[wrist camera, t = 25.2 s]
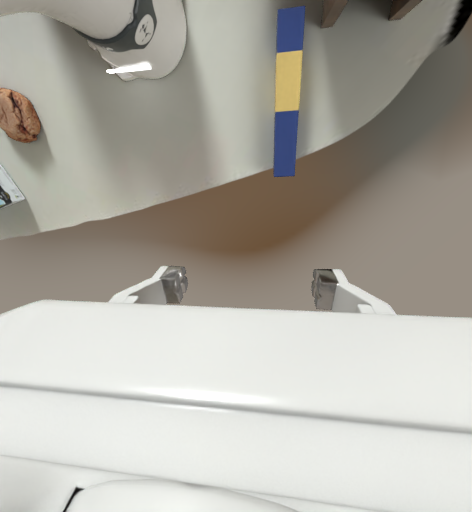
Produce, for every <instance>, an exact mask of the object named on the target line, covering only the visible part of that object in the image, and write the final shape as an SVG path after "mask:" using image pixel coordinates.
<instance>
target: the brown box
mask: <svg viewBox="0 0 472 512" xmlns="http://www.w3.org/2000/svg"><path fill="white" fill-rule="evenodd" d="M421 1H422V0H392V5H391V10H390V15H389V21H390V20H399V19H401V18H403V17H404V16H405V15H406V14H407V13H408V12H410V11H411V10H412V9H413V8H414V7H415V6H416V5H418V4H419V3H420V2H421ZM347 2H348V0H324V1H323V11H322V22H321V28H329V27H333V25H334V23H335V22H336V20H337V18H338V17H339V15H340V14H341V12H342V10H343V9H344V7H345V5H346V4H347Z"/></svg>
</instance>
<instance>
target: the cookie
mask: <svg viewBox="0 0 472 512" xmlns="http://www.w3.org/2000/svg"><path fill="white" fill-rule="evenodd" d="M40 127H41V125H40V122H39V118H38V116H37V113H36V111H35V110H34V108H33V105H32V104H31V102H30V101H29V100H28V99H27V98H26V97H24V96H23V95H21V94H20V93H18V92H14V91H12V90H8V89H5V88H0V128H2V129H3V130H4V131H6V133H7V135H8V136H9V137H10V138H12V139H14V140H16V141H20V142H24V143H30V142H32V141H35V140H37V135H38V134H39V132H40V129H41V128H40Z"/></svg>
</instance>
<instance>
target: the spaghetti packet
mask: <svg viewBox="0 0 472 512" xmlns="http://www.w3.org/2000/svg"><path fill="white" fill-rule="evenodd" d="M304 19H305V6H300V7H292V8H285V9H278V14H277V40H276V77H275V131H274V177H283V176H294V175H295V159H296V144H297V128H298V113H299V100H300V85H301V69H302V54H303V35H304Z"/></svg>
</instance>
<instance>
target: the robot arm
mask: <svg viewBox="0 0 472 512" xmlns="http://www.w3.org/2000/svg"><path fill="white" fill-rule="evenodd" d="M25 12H31V13H41V14H44V15H47V16H49V17H51V18H54V19H56V20H58V21H61V22H63V23H65V24H67V25H69V26H71V27H73V29H74V30H75V31H76V32H78V33H79V34H80V35H81V36H83V37H84V38H86V40H88V41H87V43H88V44H89V45H90V47H91V48H93V49H94V50H96V49H97V50H98V51H99V52H100V53H101V57H102V58H103V59H104V60H105V61H107V62H108V63H109V64H110V66H111V67H112V68H113V69H111V70H106V71H107V72H108V73H110V74H111V73H116V74H117V75H118V76H119V77H120V78H121V79H122V80H124V81H131V80H133V79H136V78H146V79H158V78H162V77H164V76H166V75H168V74H169V73H170V72H172V71H173V70H174V68H175V67H176V66H177V64H178V63H179V61H180V59H181V57H182V54H183V52H184V48H185V43H186V18H185V13H184V9H183V5H182V1H181V0H0V17H1V16H5V15H10V14H15V13H25ZM185 274H186V270H185V267H180V266H161V267H160V268H159V269H158V271H157V272H156V273H155V274H154V275H153V277H152V278H151V279H147V280H145V281H143V282H141V283H139V284H136V285H134V286H132V287H130V288H128V289H126V290H124V291H121V292H119V293H117V294H115V295H114V296H113V297H112V298H111V299H110V301H109V302H107V303H106V302H85V301H62V300H40V301H37V302H34V303H30V304H27V305H24V306H22V307H19V308H16V309H13V310H10V311H8V312H5V313H3V314H0V512H472V318H461V317H436V316H414V315H396V314H395V312H394V311H393V309H392V308H391V307H390V306H389V304H387V303H385V302H383V301H381V300H380V299H378V298H376V297H374V296H372V295H371V294H369V293H367V292H365V291H363V290H362V289H360V288H358V287H356V286H354V285H352V284H349V282H348V281H347V279H346V277H345V275H344V274H343V272H342V270H341V269H315V270H314V272H313V277H314V280H313V281H312V295H313V297H314V298H315V300H314V302H315V306H316V309H324V310H325V309H326V310H332V311H333V312H320V311H296V310H273V309H249V308H225V307H202V306H178V305H166V304H167V303H180V302H181V300H182V298H183V293H185V292H186V290H187V286H188V280H187V278H186V277H185V276H184V275H185Z"/></svg>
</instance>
